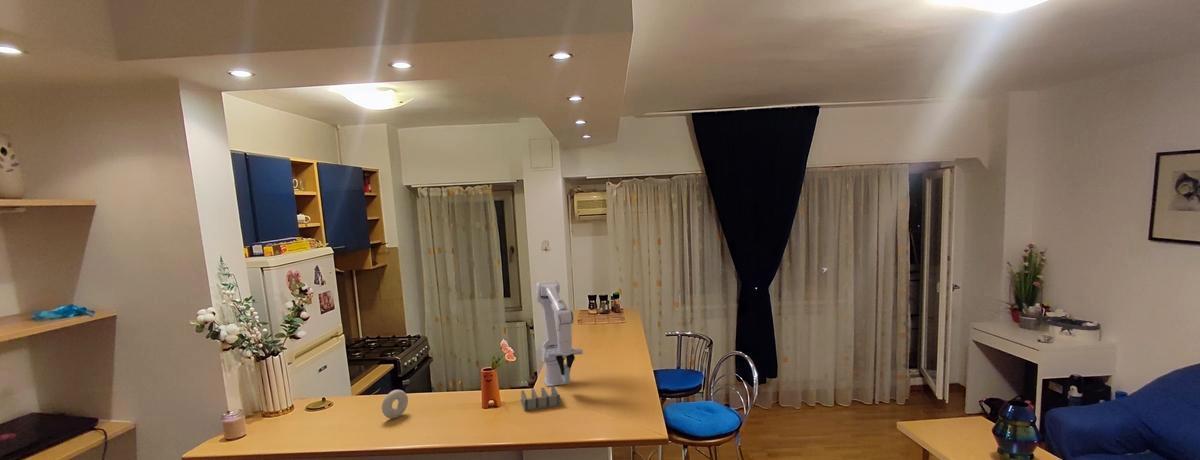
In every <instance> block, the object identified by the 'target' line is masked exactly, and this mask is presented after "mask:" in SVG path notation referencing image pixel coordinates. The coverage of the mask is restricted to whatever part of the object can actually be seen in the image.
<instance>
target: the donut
mask: <svg viewBox="0 0 1200 460" xmlns="http://www.w3.org/2000/svg"><path fill="white" fill-rule="evenodd" d="M396 400H397V401H398V403H397V405H396V406H395V408H393V403H394V402H395V401H396ZM408 404H409V399H408V394H407V393H406V392H405V391H404V390H402V389H393V390H391V391H390V392H389V393H388V394H386V396H385V397H384V399H383V401H382V403H381V412H382V414H383V416H384V417H385V418H388V419H397V418H398V417H400V416H402V415H403V414H404V413H405V411H406V410H407V407H408Z"/></svg>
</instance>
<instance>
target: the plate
mask: <svg viewBox="0 0 1200 460" xmlns="http://www.w3.org/2000/svg"><path fill="white" fill-rule="evenodd" d="M570 373H571V369H570V368H569V367H568V365H567V362H564V375H562V374H561V378H562V380H563V381H564V382H565V384H570V383H571V382H570V381H571V380H570V379H571V376H570V375H571V374H570Z"/></svg>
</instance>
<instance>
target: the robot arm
mask: <svg viewBox="0 0 1200 460" xmlns="http://www.w3.org/2000/svg"><path fill="white" fill-rule="evenodd" d="M560 291H561V287H560V283H559V281H557V280H555V281H553V280H552V281H538V282H536V284H535V296H536V300H537V303H540V305H541V309H542V316H543V322H544V330H545V338H546V340H545V341H544V342H543V343H542V344H541V346H540V347H541V348H540V349H541V360H542V362H543V363H545V365H544V378H542V380H543V382H544V383H545V386H546V387H552V386H554V387H555V386H562V385H566V383H565V382H564V381H563V380H562V378H561V374H562V375H564V363H566V364H567V365H568V367H569V368H570V370H571V368H572V366H573V363H574V361H575V359H576V357H575V355H583V354H584V350H583V348H573V344H572V343H573V341H572V340H573V339H572V336H573V335H572V334H573V333H572V331H573V330H572V324H574V320H575V319H574V313H573V310H572V309H571V308H568V307H567V304H566V303H565V301H564V299H562V298H561V297H560ZM565 360H566V362H565Z"/></svg>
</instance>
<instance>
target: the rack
mask: <svg viewBox="0 0 1200 460" xmlns="http://www.w3.org/2000/svg"><path fill="white" fill-rule="evenodd" d="M550 387H551V390H550V391H551V394H550V395H548V392H547V391H546V389H545V387H541V388H540V389H541V396H538V395H537V392H536V390H535V389H534V388H531V390H530V391H531V395H530V396H531V397H527V394H526V392H525V390H521V391H520V394H521V395H520V397H521V399H520V403H521V405H522V408H523V411H524V412H527V411H529V412H530V411H534V410H543V409H549V408H556V407H561V394H559V392H558V390H557V389H556V388H555V386H550Z"/></svg>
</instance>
